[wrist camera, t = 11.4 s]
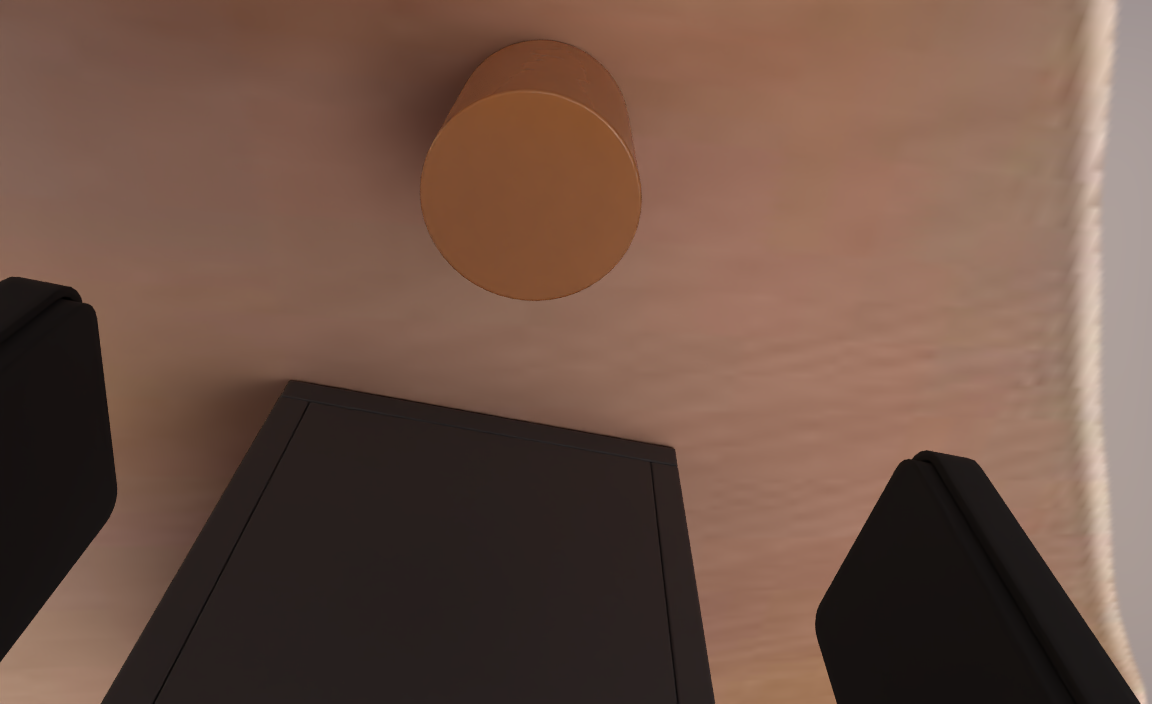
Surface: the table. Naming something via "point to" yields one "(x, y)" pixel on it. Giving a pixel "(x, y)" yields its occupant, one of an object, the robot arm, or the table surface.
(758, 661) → the table surface
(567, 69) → the orange cylinder
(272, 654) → the dark storage box
